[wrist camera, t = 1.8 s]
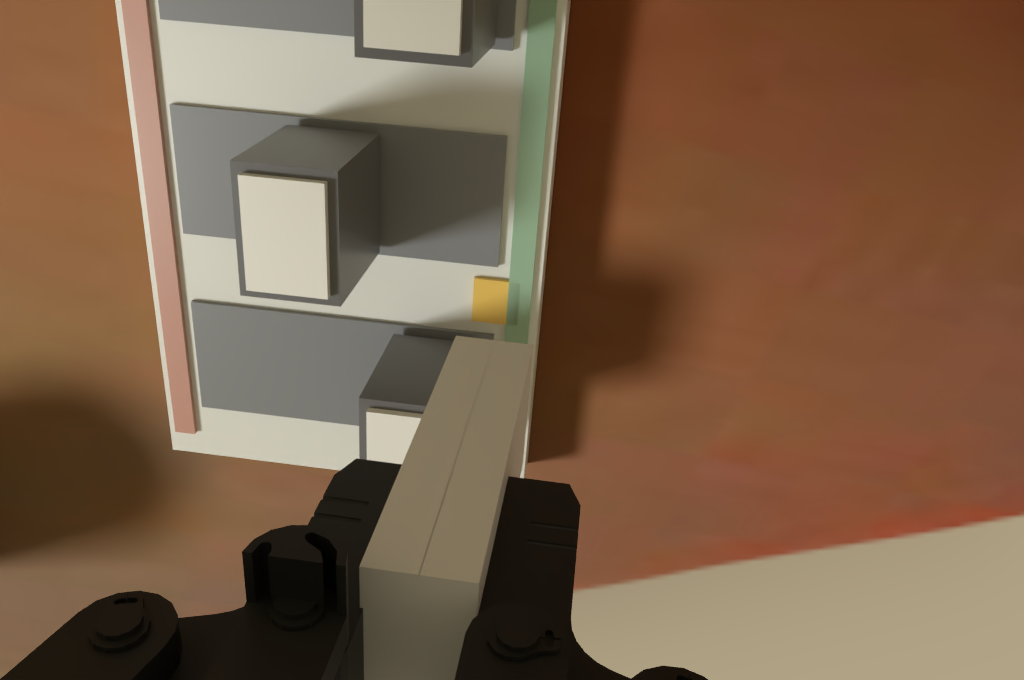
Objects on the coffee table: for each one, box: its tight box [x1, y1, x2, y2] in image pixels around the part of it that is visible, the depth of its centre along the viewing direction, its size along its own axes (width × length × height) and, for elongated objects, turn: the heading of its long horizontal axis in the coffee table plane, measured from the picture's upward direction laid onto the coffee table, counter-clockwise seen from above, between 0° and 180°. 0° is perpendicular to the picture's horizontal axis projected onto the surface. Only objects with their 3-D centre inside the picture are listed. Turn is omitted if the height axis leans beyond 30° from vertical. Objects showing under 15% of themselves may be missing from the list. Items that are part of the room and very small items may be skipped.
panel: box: [115, 0, 571, 478], centre depth 28 cm, size 14×30×2 cm, turn 176°
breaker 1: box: [230, 125, 380, 307], centre depth 26 cm, size 3×4×5 cm
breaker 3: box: [359, 334, 453, 464], centre depth 29 cm, size 3×4×5 cm
